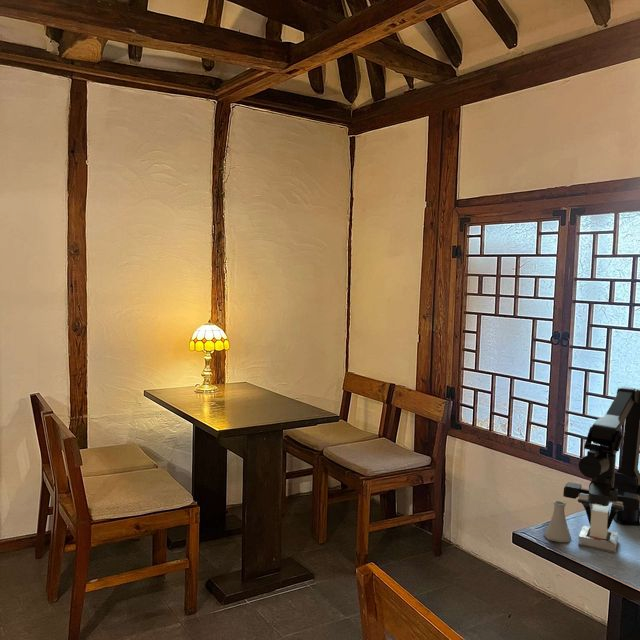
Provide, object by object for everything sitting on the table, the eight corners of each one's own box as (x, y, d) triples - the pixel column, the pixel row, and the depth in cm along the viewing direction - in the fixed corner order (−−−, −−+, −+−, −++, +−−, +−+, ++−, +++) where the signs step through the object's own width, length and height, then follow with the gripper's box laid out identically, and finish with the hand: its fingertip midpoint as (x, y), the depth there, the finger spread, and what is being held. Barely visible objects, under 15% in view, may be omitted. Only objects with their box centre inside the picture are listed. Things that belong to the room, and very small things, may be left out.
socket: (582, 534, 180) (583, 523, 180) (618, 541, 176) (618, 530, 176) (578, 545, 173) (578, 534, 172) (614, 553, 168) (615, 542, 168)
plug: (592, 529, 178) (593, 504, 177) (608, 532, 176) (609, 507, 175) (589, 535, 173) (591, 510, 172) (605, 539, 171) (607, 513, 170)
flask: (573, 544, 173) (576, 508, 172) (545, 541, 174) (547, 505, 174) (568, 534, 180) (571, 499, 179) (541, 531, 181) (543, 496, 181)
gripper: (561, 471, 171) (558, 528, 172) (639, 484, 161) (635, 545, 162) (568, 461, 180) (564, 515, 181) (642, 473, 171) (638, 530, 172)
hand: (599, 526), depth 174 cm, fingers closed on plug, 4 cm apart
